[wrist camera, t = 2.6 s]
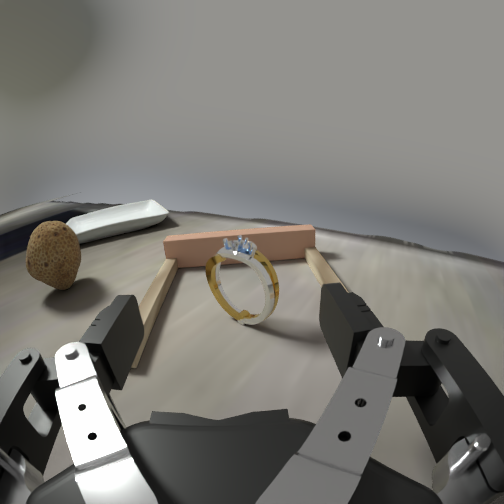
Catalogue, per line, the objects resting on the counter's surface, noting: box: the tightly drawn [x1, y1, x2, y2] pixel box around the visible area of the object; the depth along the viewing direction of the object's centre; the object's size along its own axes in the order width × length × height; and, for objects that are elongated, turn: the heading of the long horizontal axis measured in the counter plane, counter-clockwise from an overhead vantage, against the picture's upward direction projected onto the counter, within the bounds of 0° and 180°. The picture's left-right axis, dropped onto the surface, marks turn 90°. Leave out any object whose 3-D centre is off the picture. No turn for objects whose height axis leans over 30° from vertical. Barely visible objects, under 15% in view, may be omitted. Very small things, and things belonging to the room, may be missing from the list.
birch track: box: [131, 247, 349, 368], centre depth 29 cm, size 20×20×2 cm
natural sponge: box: [26, 221, 81, 290], centre depth 31 cm, size 9×9×10 cm
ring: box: [206, 235, 279, 325], centre depth 24 cm, size 7×3×8 cm, turn 49°
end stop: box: [163, 225, 315, 268], centre depth 38 cm, size 20×2×4 cm, turn 93°
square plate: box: [66, 200, 169, 244], centre depth 65 cm, size 27×27×4 cm
